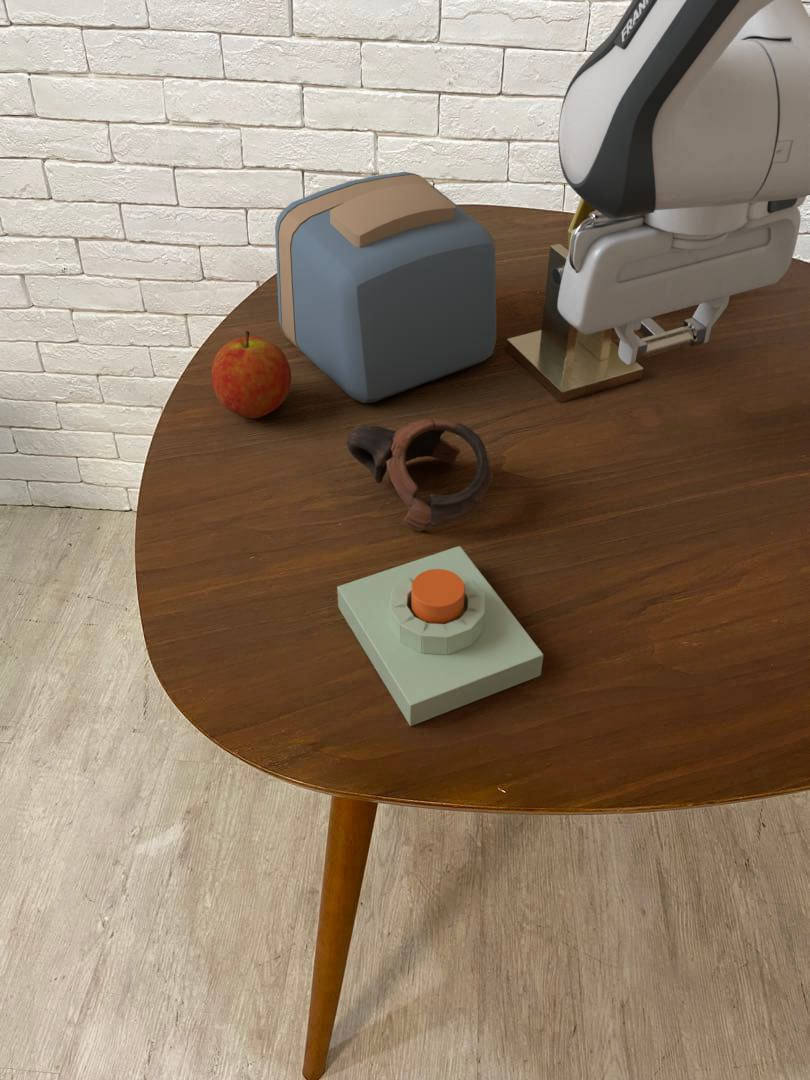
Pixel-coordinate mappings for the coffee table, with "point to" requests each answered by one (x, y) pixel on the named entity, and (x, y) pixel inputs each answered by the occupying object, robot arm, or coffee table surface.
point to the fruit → (251, 376)
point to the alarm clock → (385, 284)
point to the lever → (664, 337)
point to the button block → (438, 639)
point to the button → (437, 596)
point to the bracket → (569, 348)
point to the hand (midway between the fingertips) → (663, 350)
